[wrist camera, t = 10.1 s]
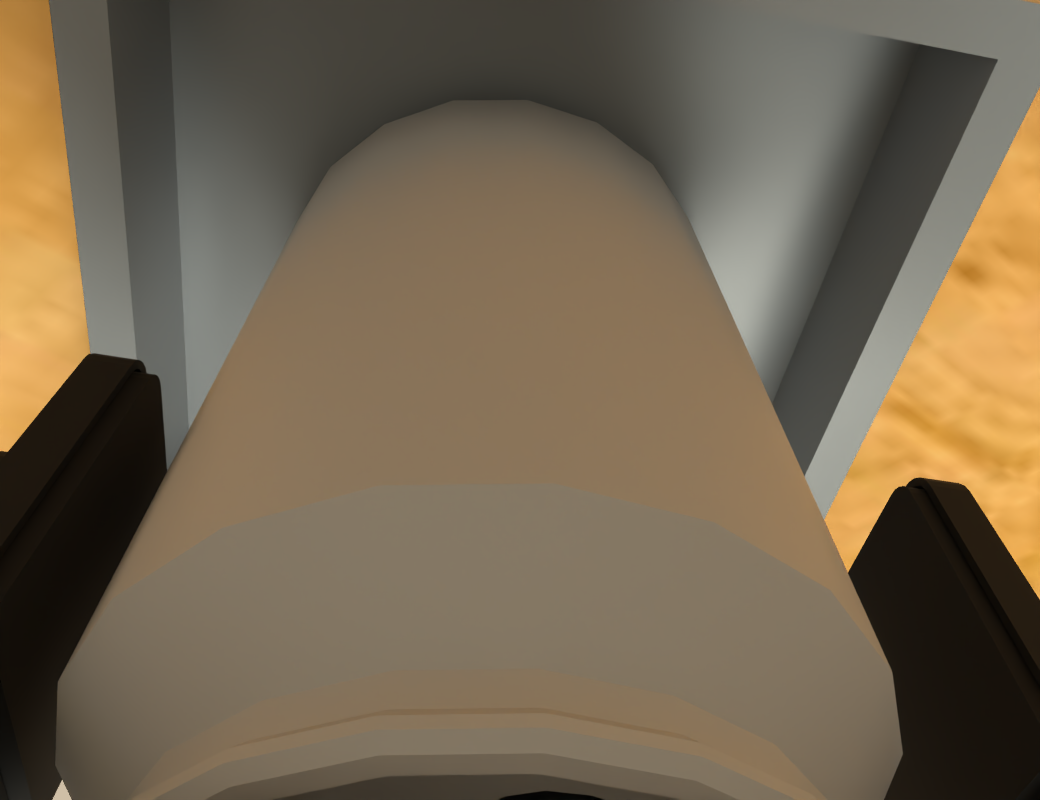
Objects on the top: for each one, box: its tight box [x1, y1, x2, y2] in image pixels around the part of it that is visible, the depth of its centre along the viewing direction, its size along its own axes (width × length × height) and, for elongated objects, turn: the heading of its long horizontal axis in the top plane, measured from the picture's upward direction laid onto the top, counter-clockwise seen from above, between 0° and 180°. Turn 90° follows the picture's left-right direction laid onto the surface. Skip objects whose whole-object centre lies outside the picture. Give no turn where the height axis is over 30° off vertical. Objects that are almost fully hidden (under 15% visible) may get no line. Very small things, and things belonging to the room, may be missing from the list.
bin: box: [49, 0, 1040, 519], centre depth 16 cm, size 14×14×3 cm
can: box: [55, 100, 903, 800], centre depth 11 cm, size 8×8×12 cm
